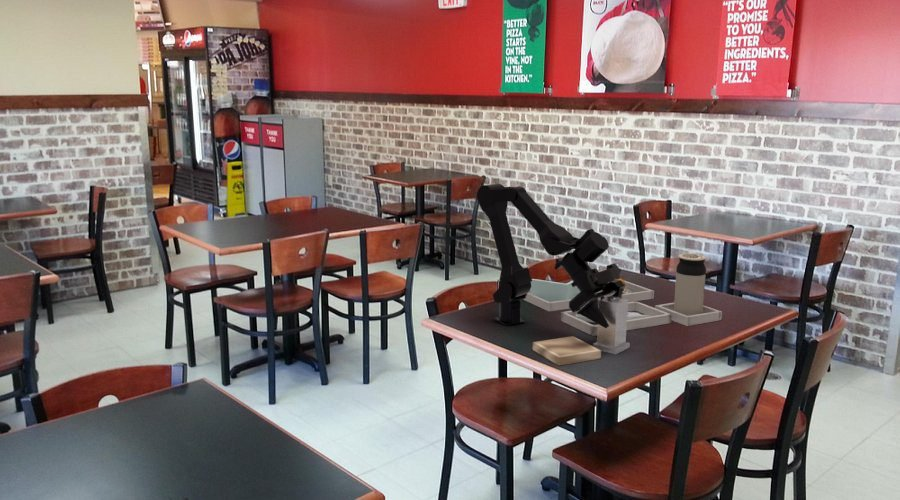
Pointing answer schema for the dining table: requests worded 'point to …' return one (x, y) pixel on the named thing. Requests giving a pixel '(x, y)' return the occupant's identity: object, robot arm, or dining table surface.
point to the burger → (626, 290)
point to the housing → (613, 325)
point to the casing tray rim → (655, 319)
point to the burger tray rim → (637, 293)
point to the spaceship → (629, 317)
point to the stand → (566, 350)
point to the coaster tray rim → (547, 303)
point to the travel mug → (690, 284)
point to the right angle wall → (553, 290)
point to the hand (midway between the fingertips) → (616, 323)
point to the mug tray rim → (705, 317)
